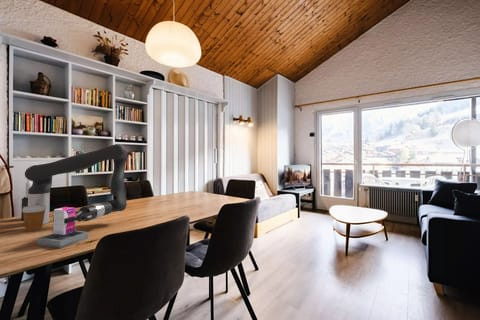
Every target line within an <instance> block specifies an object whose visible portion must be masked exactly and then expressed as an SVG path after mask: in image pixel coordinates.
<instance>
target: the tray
mask: <svg viewBox="0 0 480 320" xmlns="http://www.w3.org/2000/svg"><path fill="white" fill-rule="evenodd" d="M84 240H89V231H84V230H83V231H82V230H76V229H75V232H73V233H70V234H67V235H64V236H59V235H53V233H50V234H46V235H42V236H40V237H37V238H36V245H37V246H41V247H46V248H47V247H48V248H53V249H63V248H65V247H68V246H69V247H70V246H71V245H74V244H77V243H79V242H82V241H84Z"/></svg>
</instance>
